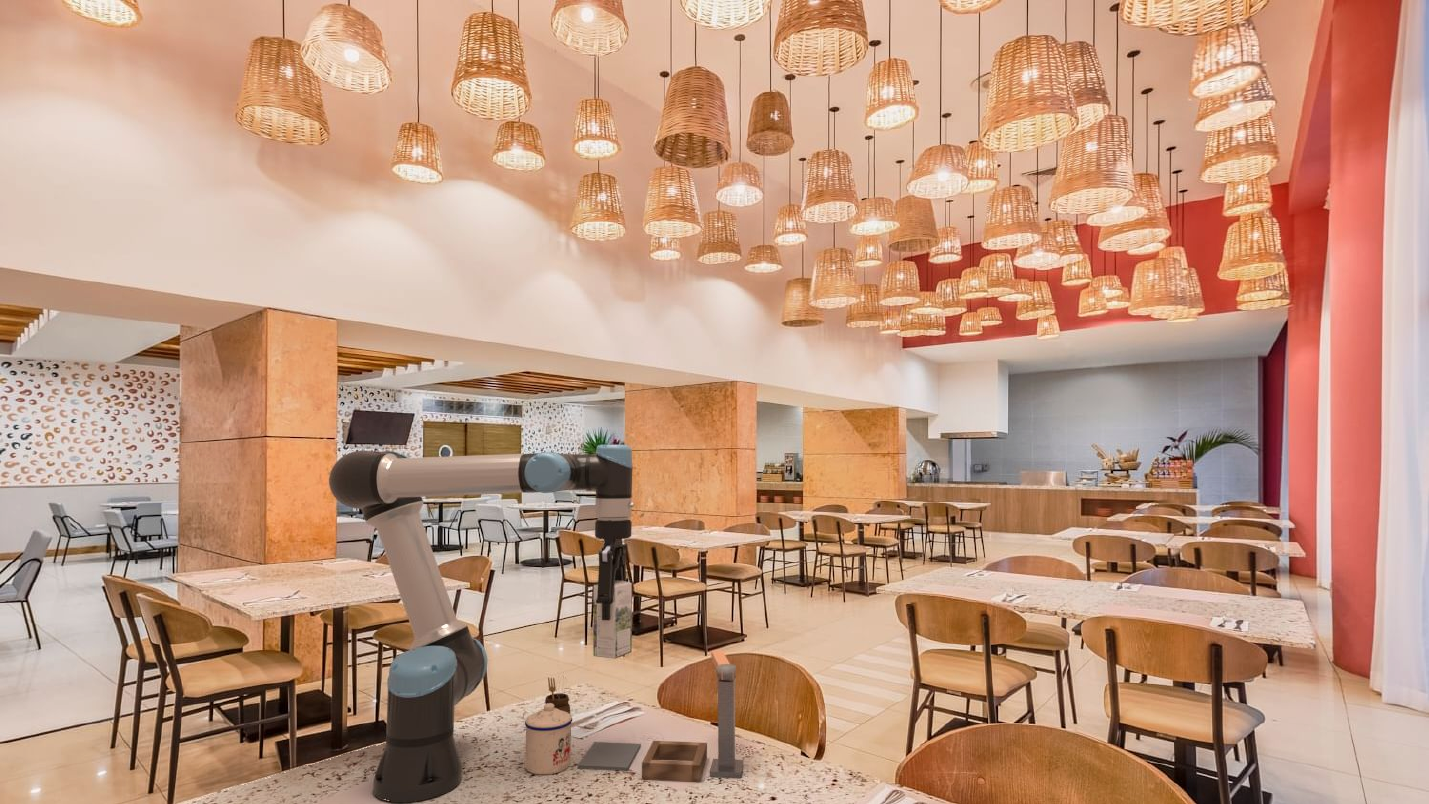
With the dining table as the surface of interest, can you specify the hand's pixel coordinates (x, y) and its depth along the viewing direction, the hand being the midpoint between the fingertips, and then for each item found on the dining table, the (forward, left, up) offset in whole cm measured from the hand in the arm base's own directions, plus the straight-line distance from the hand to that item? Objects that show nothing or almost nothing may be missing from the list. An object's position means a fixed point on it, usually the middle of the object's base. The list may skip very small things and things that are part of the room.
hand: (611, 631), depth 146 cm
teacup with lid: (-11, -4, -25) cm, 28 cm away
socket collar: (+14, -4, -25) cm, 29 cm away
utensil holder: (-16, +14, -25) cm, 33 cm away
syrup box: (0, 0, -5) cm, 5 cm away
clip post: (+24, -4, -25) cm, 35 cm away
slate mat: (0, 0, -25) cm, 25 cm away
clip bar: (+23, +2, -7) cm, 24 cm away
